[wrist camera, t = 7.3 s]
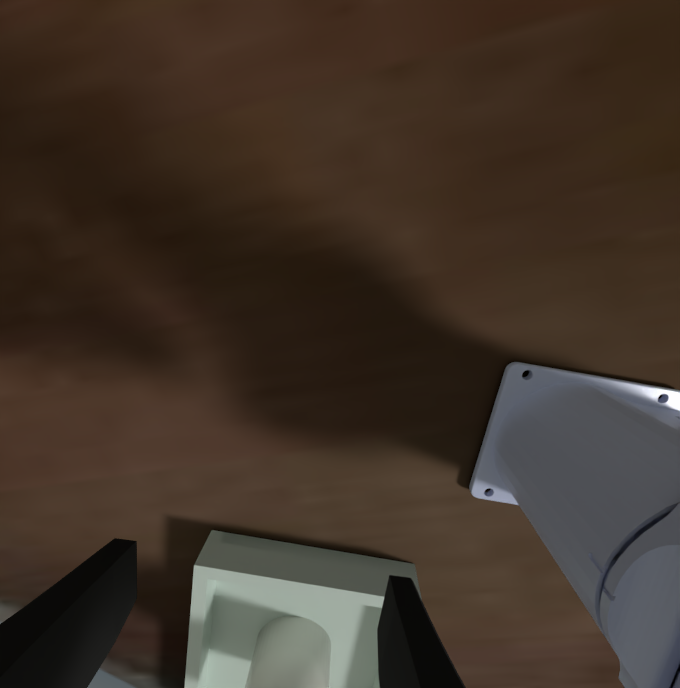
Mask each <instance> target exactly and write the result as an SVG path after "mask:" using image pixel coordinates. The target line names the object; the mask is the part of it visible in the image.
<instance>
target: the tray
mask: <svg viewBox="0 0 680 688" xmlns="http://www.w3.org/2000/svg"><path fill="white" fill-rule="evenodd" d="M389 575H394V576H401V577H409V578H411V579H412V580H413V582H414V584H415V586H416V589H417V591H418V593H419V596H420V598H421V594H420V589H419V584H418V579H417V574H416V569H415V564H412V563H406V562H400V561H394V560H388V559H382V558H376V557H370V556H364V555H358V554H352V553H346V552H340V551H334V550H328V549H322V548H317V547H311V546H305V545H299V544H293V543H287V542H281V541H275V540H269V539H263V538H257V537H251V536H245V535H239V534H233V533H227V532H221V531H215V530H211V532H210V534H209V536H208V538H207V540H206V542H205V544H204V546H203V548H202V550H201V552H200V554H199V556H198V558H197V560H196V562H195V564H194V572H193V585H192V598H191V611H190V623H189V636H188V649H187V662H186V675H185V688H245V685H246V681H247V677H248V673H249V669H250V665H251V661H252V657H253V653H254V649H255V645H256V641H257V637H258V634H259V632H260V630H261V629H262V627H263V626H264V625H265V624H267V623H268V622H270V621H271V620H274V619H276V618H279V617H285V616H298V617H303V618H306V619H309V620H311V621H313V622H315V623H317V624H318V625H320V626H321V627H322V628H323V629H324V630H325V631H326V633H327V634H328V636H329V638H330V641H331V662H330V680H329V688H380V685H379V675H378V641H377V628H378V624H379V619H380V615H381V610H382V606H383V601H384V597H385V592H386V588H387V583H388V579H389ZM421 600H422V599H421Z"/></svg>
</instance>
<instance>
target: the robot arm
mask: <svg viewBox="0 0 680 688" xmlns="http://www.w3.org/2000/svg"><path fill="white" fill-rule="evenodd" d="M526 370H529V374H528V375H527V376H526V377H522V374H523V372H524V371H526ZM660 395H662V397H661V398H660V399H659V400H658V397H659V396H660ZM489 488H491V490H490V491H488V492H484V491H485V490H486V489H489ZM469 489H470V492H471V494H472V495H473V496H474V497H476V498H480V499H486V500H492V501H498V502H504V503H510V504H516V505H519V506H520V508H521V509H522V511H523V512H524V514H525V515H526V517H527V518H528V520H529V521H530V523H531V524H532V526H533V527H534V529H535V530H536V532H537V534H538V535H539V537H540V538H541V540H542V541H543V543H544V544H545V546H546V547H547V549H548V550H549V552H550V553H551V555H552V557H553V558H554V560H555V561H556V563H557V564H558V566H559V567H560V569H561V570H562V572H563V573H564V575H565V576H566V578H567V579H568V581H569V583H570V584H571V586H572V587H573V589H574V590H575V592H576V593H577V595H578V596H579V598H580V599H581V601H582V602H583V604H584V606H585V607H586V609H587V610H588V612H589V613H590V615H591V616H592V618H593V619H594V621H595V622H596V624H597V625H598V627H599V628H600V630H601V632H602V633H603V635H604V636H605V637H606V639H607V640H608V642H609V643H610V645H611V647H612V648H613V650H614V651H615V653H616V654H617V656H618V657H619V661H620V673H619V679H620V681H621V682H622V684H623V686H624V687H625V688H680V390H676V389H670V388H664V387H659V386H653V385H647V384H641V383H636V382H630V381H624V380H618V379H613V378H607V377H601V376H595V375H590V374H584V373H578V372H572V371H567V370H561V369H555V368H549V367H544V366H538V365H532V364H526V363H521V362H512V363H510V364H509V365H507V367H506V369H505V371H504V374H503V378H502V381H501V384H500V387H499V391H498V394H497V397H496V400H495V404H494V407H493V410H492V413H491V417H490V420H489V423H488V426H487V430H486V433H485V436H484V439H483V443H482V446H481V449H480V452H479V456H478V459H477V462H476V465H475V469H474V472H473V475H472V478H471V482H470V485H469ZM136 599H137V541H131V540H124V539H116V538H115V539H113V540H112V541H111V542H109V543H108V544H107V545H105V546H104V547H103V548H101V549H100V550H99V551H97V552H96V553H95V554H94V555H92V556H91V557H90V558H88V559H87V560H86V561H84V562H83V563H82V564H81V565H79V566H78V567H77V568H75V569H74V570H73V571H72V572H70V573H69V574H68V575H66V576H65V577H64V578H62V579H61V580H60V581H58V582H57V583H56V584H54V585H53V586H52V587H50V588H49V589H48V590H46V591H45V592H44V593H42V594H41V595H40V596H38V597H37V598H36V599H34V600H33V601H32V602H30V603H29V604H28V605H26V606H25V607H24V608H22V609H21V610H19V611H18V612H17V613H15V614H14V615H13V616H11V617H10V618H8V619H7V620H5V621H4V622H3V623H1V624H0V688H87V687H88V685H89V684H90V682H91V681H92V679H93V677H94V676H95V674H96V672H97V671H98V669H99V668H100V666H101V664H102V663H103V661H104V659H105V658H106V656H107V654H108V653H109V651H110V650H111V648H112V646H113V645H114V643H115V641H116V639H117V637H118V635H119V633H120V631H121V629H122V627H123V625H124V623H125V621H126V619H127V617H128V615H129V613H130V611H131V609H132V607H133V605H134V603H135V601H136ZM377 641H378V675H379V685H380V688H465V686H464V684H463V682H462V680H461V678H460V677H459V675H458V673H457V671H456V669H455V667H454V665H453V663H452V661H451V660H450V658H449V656H448V654H447V652H446V650H445V648H444V646H443V644H442V642H441V640H440V638H439V636H438V634H437V632H436V630H435V628H434V626H433V624H432V622H431V620H430V618H429V615H428V613H427V611H426V609H425V607H424V605H423V602H422V600H421V598H420V596H419V593H418V591H417V589H416V586H415V584H414V582H413V580H412V579H411V578H409V577H401V576H394V575H389V579H388V583H387V588H386V592H385V597H384V601H383V606H382V610H381V615H380V619H379V624H378V628H377Z"/></svg>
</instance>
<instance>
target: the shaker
mask: <svg viewBox="0 0 680 688" xmlns="http://www.w3.org/2000/svg"><path fill="white" fill-rule="evenodd" d="M330 662H331V641H330V638H329V636H328V634H327V633H326V631H325V630H324V629H323V628H322V627H321V626H320V625H318V624H317V623H315V622H313V621H311V620H309V619H306V618H303V617H298V616H285V617H279V618H276V619H274V620H271V621H270V622H268V623H267V624H265V625H264V626H263V627H262V629H261V630H260V632H259V634H258V637H257V641H256V645H255V649H254V653H253V657H252V661H251V665H250V669H249V673H248V677H247V681H246V685H245V688H329V680H330Z"/></svg>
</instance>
